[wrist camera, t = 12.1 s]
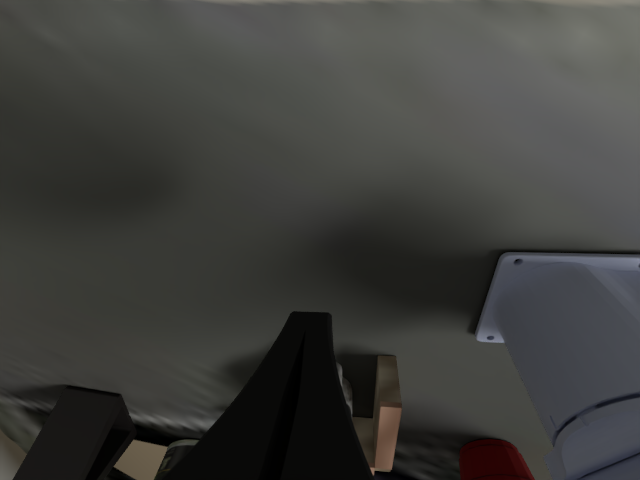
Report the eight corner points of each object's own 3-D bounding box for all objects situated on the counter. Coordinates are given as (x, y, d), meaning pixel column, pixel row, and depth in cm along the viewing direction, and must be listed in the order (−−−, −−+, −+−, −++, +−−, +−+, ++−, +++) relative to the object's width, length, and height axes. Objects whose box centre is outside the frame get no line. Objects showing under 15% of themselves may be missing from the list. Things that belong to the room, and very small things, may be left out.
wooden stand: (395, 356, 27) (401, 408, 23) (386, 427, 33) (390, 476, 29) (229, 346, 28) (210, 393, 24) (251, 416, 34) (238, 461, 31)
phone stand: (137, 433, 40) (63, 567, 30) (91, 425, 40) (1, 556, 30) (121, 393, 35) (25, 539, 25) (68, 384, 35) (-49, 525, 25)
